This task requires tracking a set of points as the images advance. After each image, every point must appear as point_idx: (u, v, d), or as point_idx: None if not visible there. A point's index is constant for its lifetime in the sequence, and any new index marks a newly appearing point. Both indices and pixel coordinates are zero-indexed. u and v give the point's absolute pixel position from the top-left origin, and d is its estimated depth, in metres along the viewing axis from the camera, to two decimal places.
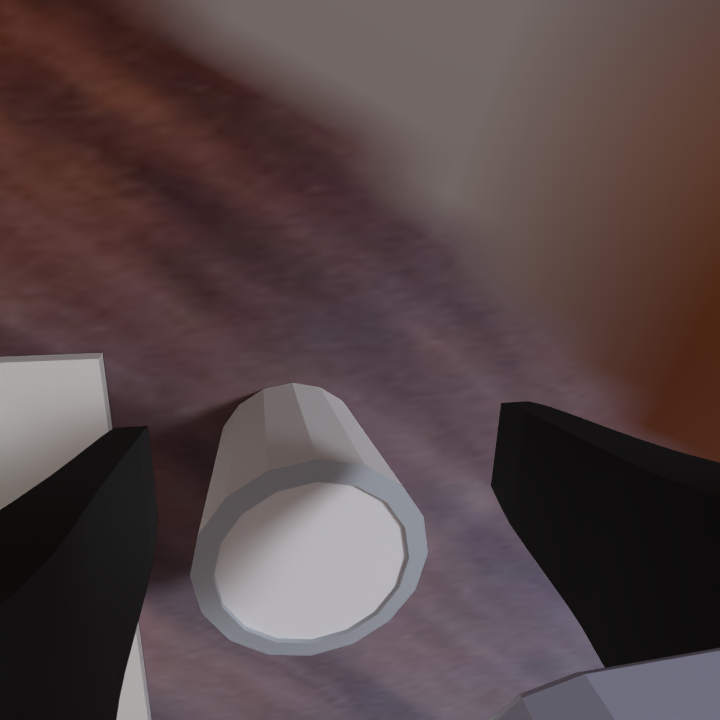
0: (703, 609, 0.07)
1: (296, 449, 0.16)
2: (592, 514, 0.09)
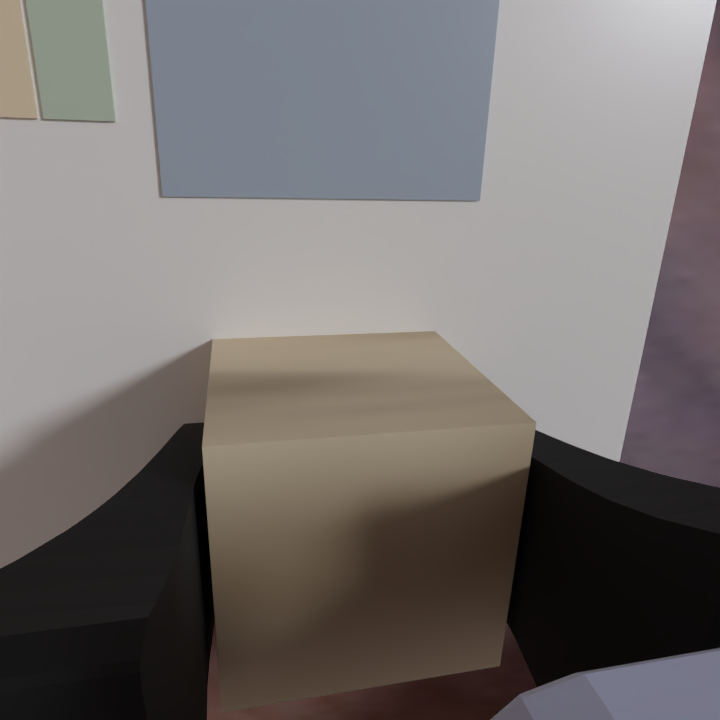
0: (615, 623, 0.07)
1: None
2: (522, 523, 0.09)
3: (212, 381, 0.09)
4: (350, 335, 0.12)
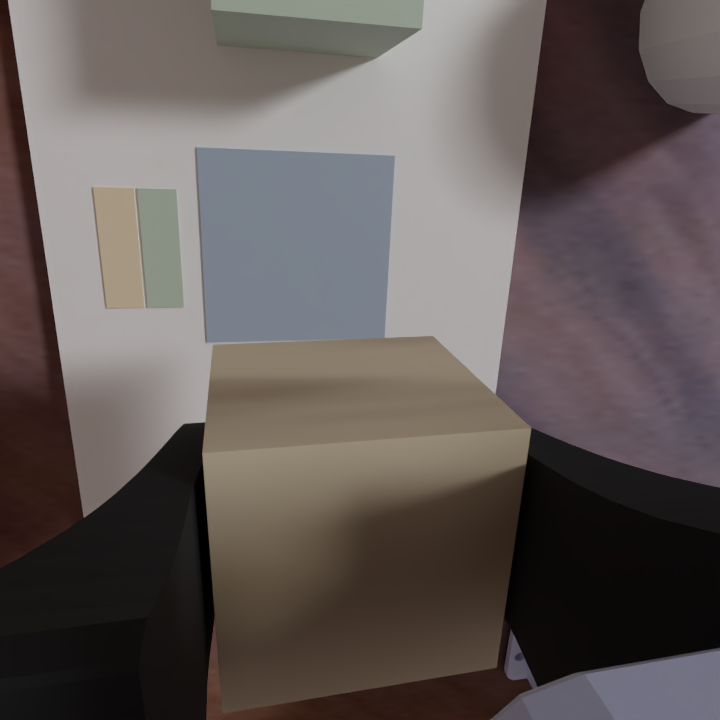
0: (615, 623, 0.07)
1: None
2: (522, 523, 0.09)
3: (212, 388, 0.09)
4: (348, 340, 0.12)
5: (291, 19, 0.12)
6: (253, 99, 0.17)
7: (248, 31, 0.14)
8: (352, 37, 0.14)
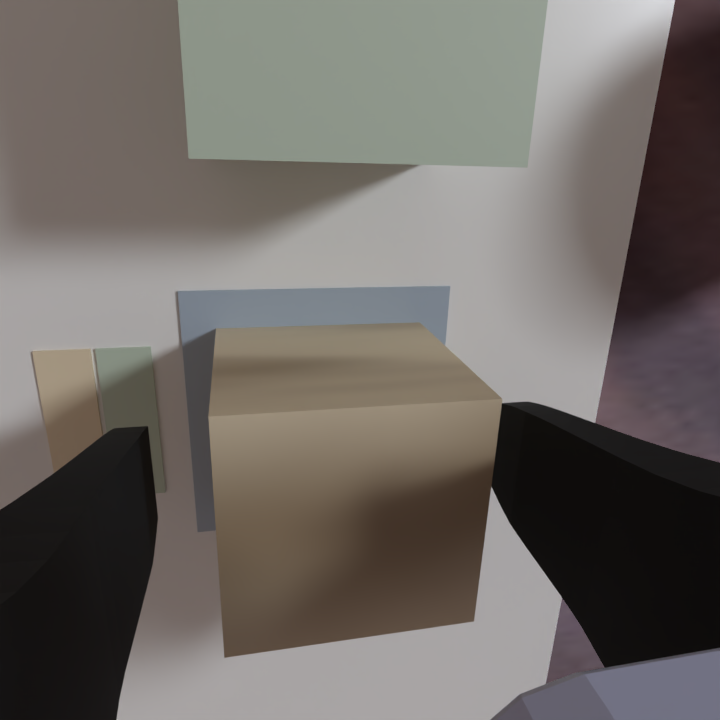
0: (703, 609, 0.07)
1: None
2: (592, 514, 0.09)
3: (216, 364, 0.10)
4: (341, 325, 0.13)
5: None
6: (256, 224, 0.12)
7: None
8: None
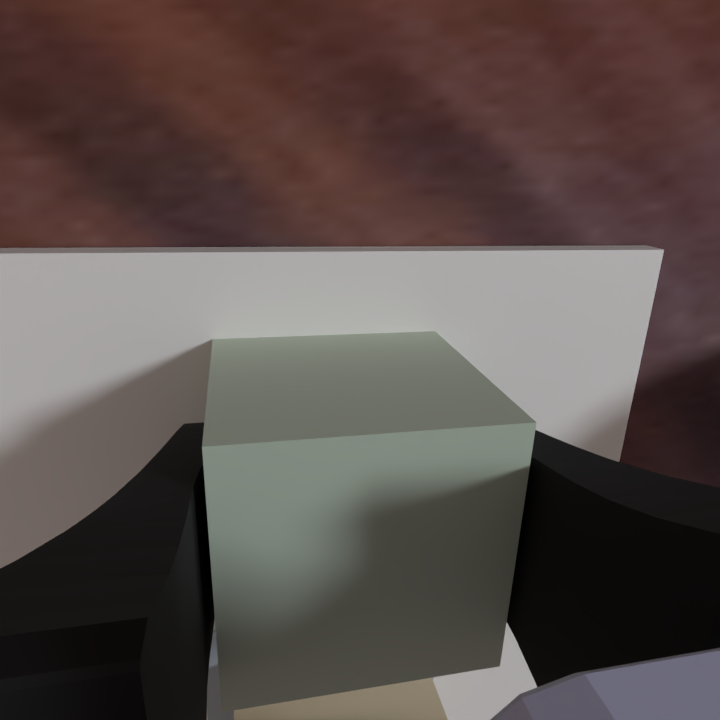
0: (615, 623, 0.07)
1: None
2: (522, 523, 0.09)
3: None
4: None
5: None
6: None
7: None
8: None
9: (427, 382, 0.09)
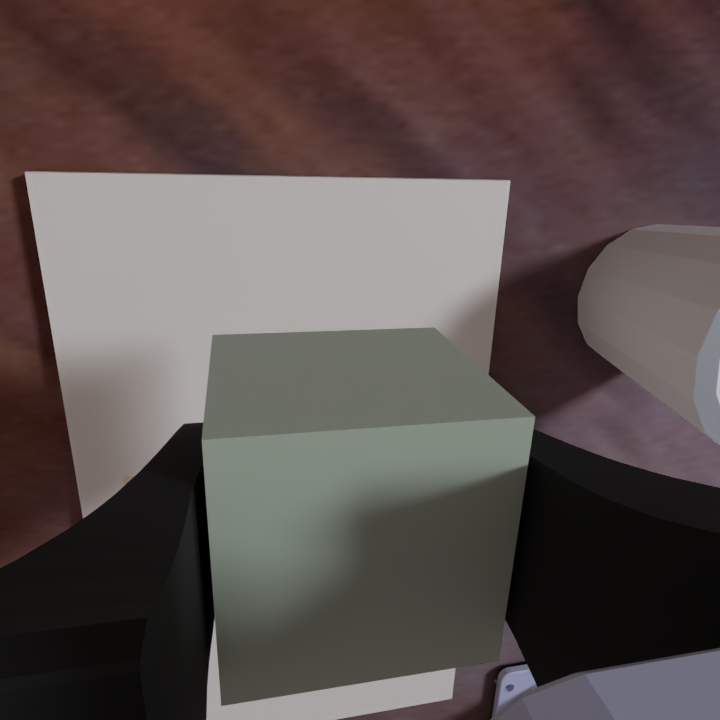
0: (615, 623, 0.07)
1: None
2: (523, 523, 0.09)
3: None
4: None
5: None
6: None
7: None
8: None
9: (427, 377, 0.09)
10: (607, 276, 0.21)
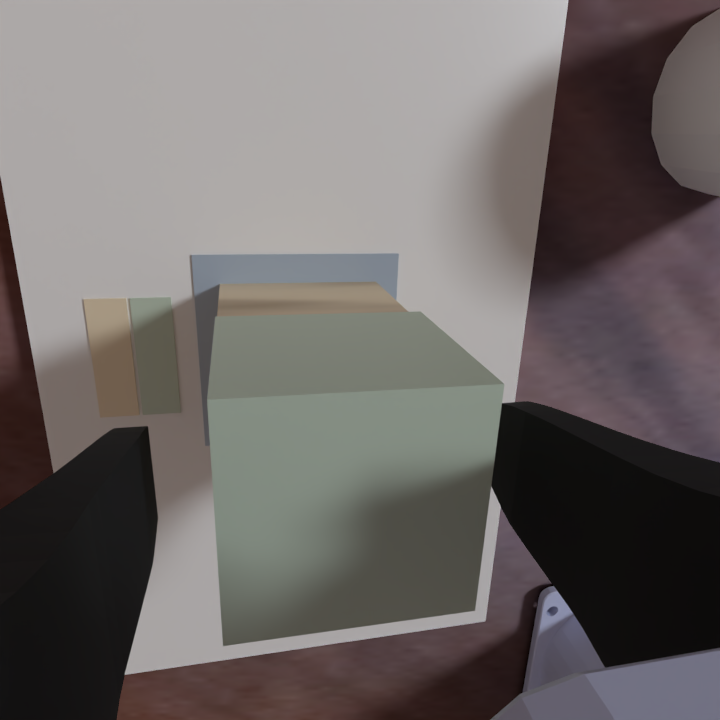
0: (703, 609, 0.07)
1: None
2: (592, 514, 0.09)
3: (220, 303, 0.14)
4: (315, 283, 0.17)
5: None
6: (250, 204, 0.16)
7: None
8: None
9: (409, 352, 0.10)
10: (698, 51, 0.16)
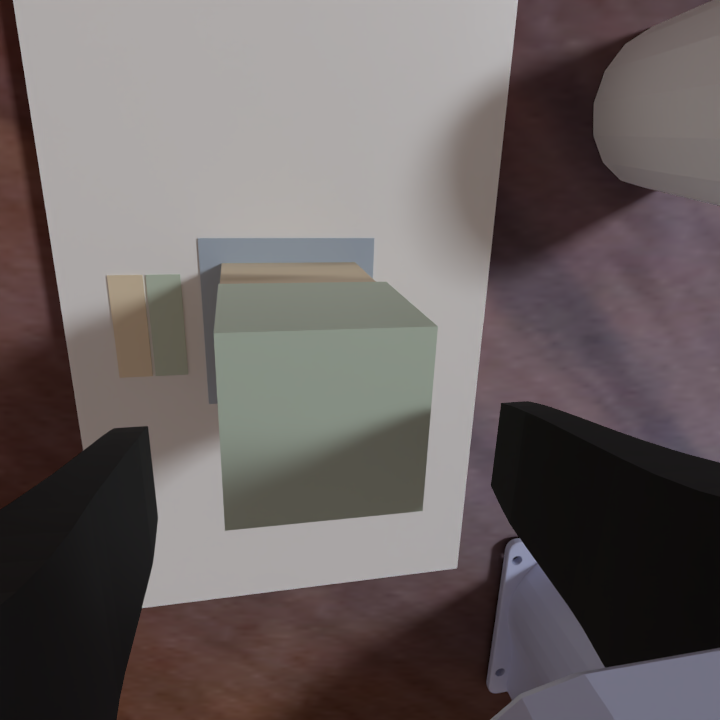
0: (704, 609, 0.07)
1: None
2: (593, 514, 0.09)
3: (222, 276, 0.17)
4: (302, 263, 0.20)
5: None
6: (247, 195, 0.19)
7: None
8: None
9: (370, 307, 0.13)
10: (626, 66, 0.19)
